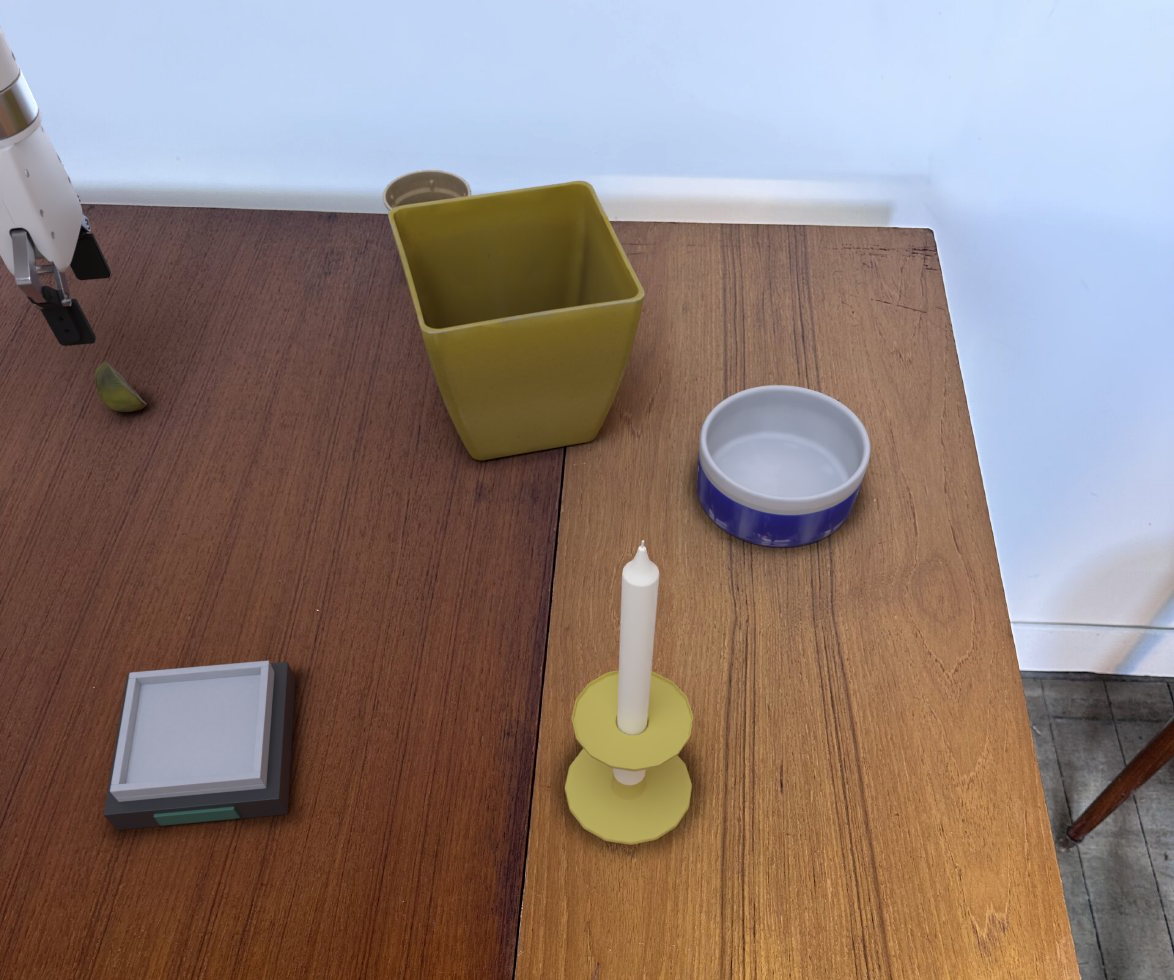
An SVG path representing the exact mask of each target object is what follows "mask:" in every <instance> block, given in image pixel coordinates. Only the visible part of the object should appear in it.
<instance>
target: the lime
mask: <svg viewBox="0 0 1174 980" xmlns="http://www.w3.org/2000/svg"><path fill="white" fill-rule="evenodd" d="M94 383H95V386H96V389H97V396H98V397H99V399H100V400H101V401H102V402H103V403H104V404H105V405H106V406H107V407H108V408H110V410H113V411H116V412H122V413H131V412H137V411H140V410H142V409H144V408H145V407H146V406H147V403H146V401H144V400H143V398H142V397H141V396H140V394H139V393H138V392H137V391H136V390H134V389H133V387H132V386H131V385H130V384H129V382H128V381H126V379H125V378H124V376H123V375H122V374H121V373H119V372H118V371H117V370H116V369H115V368H114V367H113V366H112V365H111V364H110V363H109V362H107V361H105V362H102V363H101V364H99V366H98V367H97V368H96V370H95V374H94Z"/></svg>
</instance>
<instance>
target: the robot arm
mask: <svg viewBox="0 0 1174 980" xmlns="http://www.w3.org/2000/svg"><path fill="white" fill-rule="evenodd" d="M42 121H43V113H42V112H41V110H40V108H39V105H38V103H37V101H36V99H35V97H34V95H33V93H32V91H31V89H30V87H29V85H28V82H27V80H26V78H25V76H24V74H23V71H22V69H21V67H20V66H19V63H18V61H17V59H16V57H15V55H14V53H13V50H12V48H11V46H10V44H9V42H8V40H7V38H6V36H5V34H4V32H3V29H2V27H1V26H0V257H1V259H2V261H3V263H4V264H5V267H6V268H7V270H8V271H9V273H10V274H11V275H13V276H14V280H15V284H16V286H17V287H18V288H19V289H20V290H21V291H22V292H23V293H24V294H25V295H26V298H27V300H29V302H30V303H31V304H33V305H34V306H35V308H36V309H37V310H40V312H41V314H42V315H43V317H44V319H45V321H46V322H47V324H48V326H49V328H50V330H51V331H52V333H53V335H54V337H55V339H56V341H57V342H58V343H59V345H60V346H62V347H70V346H81V345H83V346H84V345H92V344H95V342H96V340H97V336H96V334H95V332H94V330H93V328H92V327H91V324H90V323H89V320H88V319H87V317H86V314H85V313H84V311H83V309H82V307H81V305H80V303H79V301H78V299H77V298H72V296H71V293H70V289H69V285H68V281H67V277H66V271H67V270H68V269H69V267H70V268H71V270H72V272H73V274H74V276H75V278H76V279H77V280H78V281H90V280H102V279H104V280H105V279H109V278H110V277H111V275H112V270H111V268H110V266H109V264H108V262H107V259H106V258H105V256H104V253H103V251H102V249H101V247H100V245H99V242H98V240H97V239H96V236H95V234H94V233H93V232H91V231H92V225H91V223H90V220H89V218H88V217H87V216H86V215H85V214H84V213H83V208H82V204H81V199H80V196H79V194H77V192H76V189H75V187H74V185H73V182H72V180H71V177H70V173H69V170H68V168H67V166H66V164H64V163H63V162H62V160H61V158H60V156H59V154H58V152H57V150H56V148H55V147H54V145H53V143H52V141H51V139H50V137H49V135H48V133H47V132H46V130H45V128H44V126H43V124H42ZM45 259H46V260H47V261H48V262H50V263H52V264H41V265H37V261H36V260H45ZM44 276H53V279H54V283H55V287H56V288H53V287H51V286H50V285H44V284H43V281H42V280H41V278H40V277H44Z"/></svg>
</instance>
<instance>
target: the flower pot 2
mask: <svg viewBox="0 0 1174 980" xmlns="http://www.w3.org/2000/svg"><path fill="white" fill-rule="evenodd" d="M387 217H388V221H389V225H390V229H391V232H392V236H393V240H394V243H395V246H396V249H397V253H398V257H399V260H400V263H401V266H402V267H401V268H402V271H403V274H404V277H405V281H406V285H407V287H408V291H409V294H410V298H411V301H412V304H413V307H414V311H415V315H416V318H417V321H418V325H419V330H420V332H421V336H422V339H423V344H424V347H425V350H426V353H427V356H428V360H429V363H430V366H431V369H432V373H433V375H434V378H435V382H436V384H437V388H438V390H439V393H440V395H441V398H442V400H443V403H444V406H445V409H446V410H447V413H448V416H449V417H450V419H451V421H452V424H453V425H454V428H455V430H456V432H457V434H458V436H459V438H460V439H461V442H462V443H463V445H464V447H465V449H466V451H467V452H468V454H469V456H470V457H471V458H472V459H473V460H477V461H487V460H493V459H498V458H504V457H509V456H516V455H520V454H527V453H533V452H538V451H539V452H540V451H543V450H544V451H545V450H549V449H556V448H561V447H567V446H573V445H578V444H583V443H589V442H592V441H594V440H595V439H596V438H597V436H598V434H599V432H600V430H601V429H602V427H603V425H604V423H605V420H606V419H607V416H608V414H609V412H610V410H611V407H612V406H613V404H614V401H615V399H616V396H617V394H618V391H619V389H620V386H621V383H622V382H623V378H624V375H625V372H626V369H627V366H628V363H629V360H630V357H631V354H632V350H633V347H634V343H635V340H636V335H637V332H638V327H639V323H640V319H641V315H642V309H643V304H644V299H645V290H644V287H643V286H642V284H641V282H640V280H639V278H638V276H637V274H636V272H635V270H634V268H633V266H632V263H631V261H630V260H629V257H628V256H627V254H626V252H625V249H624V248H623V245H622V244H621V242H620V239H619V237H618V236H617V234H616V231H615V229H614V228H613V225H612V224H611V221H610V218H609V217H608V215H607V213H606V211H605V209H604V207H603V205H602V203H601V200H600V199H599V197H598V194H597V192H596V191H595V188H594V187H593V184H591V183H590V182H588V181H585V180H573V181H567V182H560V183H554V184H545V185H539V186H531V187H525V188H524V187H523V188H517V189H509V190H502V191H495V192H488V193H482V194H481V193H480V194H474V195H471V196H466V197H458V198H451V199H444V200H437V201H430V202H423V203H416V204H409V205H402V206H398V207H395V208H393V209H391V210H390V211H389V210H388V212H387Z"/></svg>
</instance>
